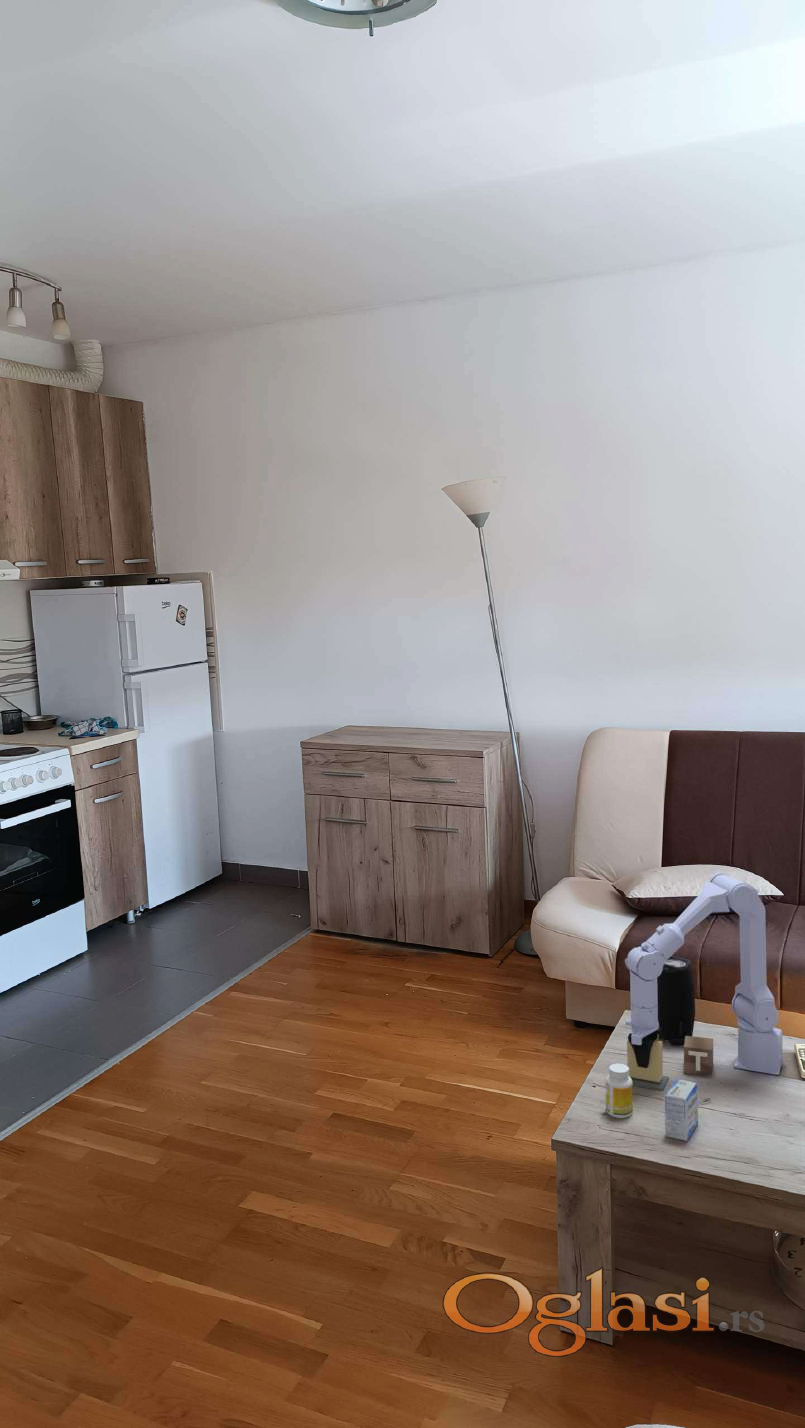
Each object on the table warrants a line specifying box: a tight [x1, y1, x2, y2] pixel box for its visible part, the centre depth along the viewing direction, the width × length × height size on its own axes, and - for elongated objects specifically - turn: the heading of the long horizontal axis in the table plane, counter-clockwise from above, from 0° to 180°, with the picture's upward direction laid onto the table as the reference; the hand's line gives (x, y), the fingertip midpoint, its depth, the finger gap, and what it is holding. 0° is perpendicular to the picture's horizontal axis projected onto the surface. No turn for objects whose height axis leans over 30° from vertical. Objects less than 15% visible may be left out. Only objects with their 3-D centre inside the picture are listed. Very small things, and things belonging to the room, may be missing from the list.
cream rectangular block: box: [626, 1040, 664, 1083], centre depth 215 cm, size 7×3×8 cm, turn 63°
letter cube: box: [683, 1035, 714, 1077], centre depth 220 cm, size 6×6×6 cm
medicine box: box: [664, 1078, 699, 1142], centre depth 194 cm, size 8×4×9 cm, turn 148°
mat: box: [630, 1075, 670, 1092], centre depth 215 cm, size 9×6×1 cm, turn 63°
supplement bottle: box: [605, 1063, 634, 1119], centre depth 202 cm, size 5×5×10 cm
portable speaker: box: [657, 954, 696, 1047], centre depth 234 cm, size 9×9×20 cm
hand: (644, 1063), depth 215 cm, fingers closed on cream rectangular block, 3 cm apart
